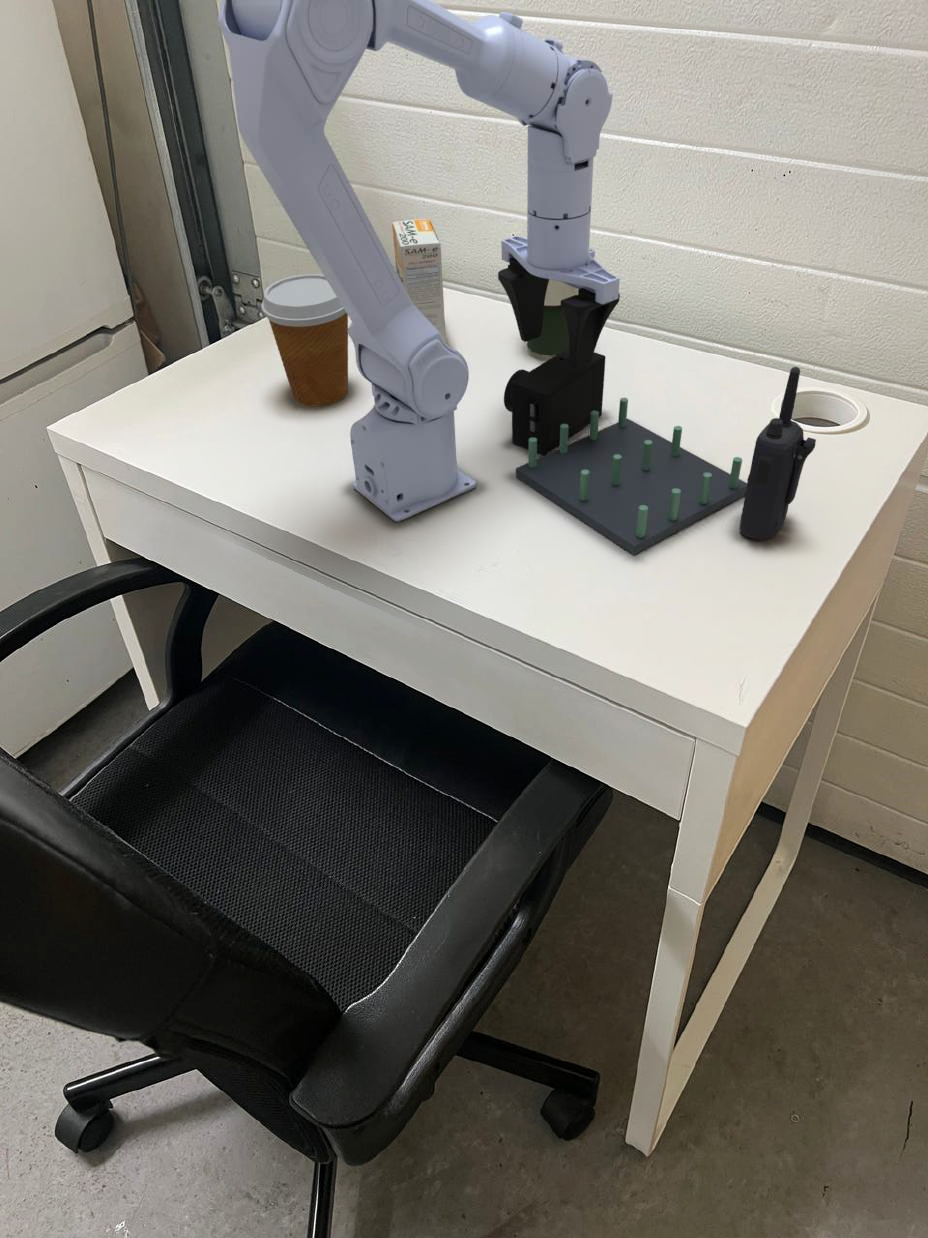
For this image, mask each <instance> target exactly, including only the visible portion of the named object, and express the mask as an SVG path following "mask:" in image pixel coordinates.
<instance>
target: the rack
mask: <svg viewBox="0 0 928 1238" xmlns="http://www.w3.org/2000/svg"><path fill="white" fill-rule="evenodd" d="M628 405H629V398H627V397H621V398H619V407H618V409H619V410H618V420H617V422H616V423H613V424H611V425H609V426H606V427H605V428H604V427H603V428H602V429H600V430H599V419H600V417H599V412H598V411H592V412H591V417H590V424H589V435H586V436H585V437H583V438H579V439H578V440H575V441H574V442H571V443H569V439H568V427H569V426H568V425H567V424H561V426H560V445H559V448H558V449H554V450H552V451H551V452H550V453H548V454H547V455H544V456H543V455H541V456H540V457H538V453H537V439H536V438H530V439H529V450H528V462H527V463H525V464H522V465H520V466H518V467H516V468H515V477H516V478H517V479H518V480H520V481H522V482H523V483H524V484H525V485H528V486H529V487H531V488H532V489H534V490H535V491H536V492H538V493H540V494H541V495H542V496H544V497H546V498H547V499H549V500H550V501H552V502H553V503H555V504H556V505H557V506H559V507H561V508H562V509H564V510H565V511H566V512H568V513H569V514H571V515H573V516H574V517H576V518H577V519H579V520H580V521H582V522H583V523H585V524H586V525H588V526H589V527H591V528H592V529H594V530H595V531H597V532H598V533H600V534H601V535H603V536H604V537H605V538H607V539H609V540H610V541H611V542H613V543H615V544H616V545H618V546H619V547H621V548H622V549H623V550H624V551H626V552H629V553H630V554H631V555H632V556H634V555H637V554H639V553H640V552H642V551H644V550H646V549H648V548H650V547H652V546H654V545H655V544H657V543H659V542H661V541H663V540H665V539H666V538H668V537H670V536H671V535H673V534H675V533H676V534H677V532H679V531H682V530H683V529H685V528H688V526H690V525H692V524H694V523H696V522H698V521H700V520H701V519H704V518H705V517H707V516H709V515H711V514H712V513H715V512H716V511H718V510H720V509H722V508H724V507H725V506H727V505H730V504H731V503H733V502H735V501H737V500H739V499H740V498H743V497H744V494H745V491H746V490H747V486H748V485H747V481H744V480H742V479H740V476H741V475H740V474H741V469H742V463H743V458H742V457H740V456H735V457H734V458H733V459H732V463H731V464H732V465H731V470H730V473H729V472H727V471H725V470H723V469H722V468H720V467H718V466H716V465H714V464H712V463H711V462H709V461H707V460H705V459H703V458H702V457H699V456H698V455H696V454H694V453H692V452H691V451H688V450H686V448H683V447H682V446H681V443H682V442H681V441H682V434H683V427H682V426H681V425H674V427H673V430H672V439H671V441H670V440H668V439H667V438H664V437H662V436H661V435H659V434H657V433H655V432H653V431H652V430H650V429H648V428H645V427H644V426H642V425H641V424H638V422H635V421H633V420H631V419H630V418H627V417H628V407H629V406H628Z"/></svg>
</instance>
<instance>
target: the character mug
mask: <svg viewBox="0 0 928 1238" xmlns="http://www.w3.org/2000/svg"><path fill="white" fill-rule="evenodd" d="M524 238H526V239H527V236H525V237H524ZM574 295H578V289H576V288H574V287H571V286H569V285H567V284H565V283H562V282H560V281H556V280H551V279H549V283H548V286H547V291H546V296H545V302H544V315H543V327H542V332H541V336H540V337H537V338H535V339H532V340H530V341H527V342H526V347H527V348H528V350H529V351H530V352H531V353H533V354H536V355H537V356H552V357H553V356H556V355H557V354H559V353H560V352H562V351H564V350H565V349H567V348H568V347H569V332H568V326H567V321H566V318H565V314H564V311H563V309H562V307H561V300H563V299H566V298H569V297H571V296H574Z"/></svg>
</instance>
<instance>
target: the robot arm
mask: <svg viewBox="0 0 928 1238" xmlns="http://www.w3.org/2000/svg"><path fill="white" fill-rule="evenodd" d="M218 12H219V13H218V17H217V23H218V26H219V28H220V31H221V33H222V36H223V38H224V40H225V42H226V45H227V47H228V51H229V59H230V67H231V78H232V85H233V95H234V101H235V102H234V103H235V111H236V118H237V127H238V130H239V133H240V136H241V138H242V141H243V143H244V145H245V146H246V148H247V149H248V151H249V153H250V154H251V156H252V157H253V159H254V161H255V163H256V165H257V166H258V168H259V169H260V171H261V173H262V175H263V176H264V177H265V180H266V181H267V183H268V184H269V186H270V188H271V190H272V191H273V193H274V195H275V196H276V198H277V200H278V201H279V203H280V204H281V206H282V209H284V211H285V213H286V214H287V216H288V218H289V220H290V222H291V223H292V224H293V226H294V228H295V229H296V231H297V233H298V234H299V236H300V238H301V240H302V241H303V243H304V245H305V246H306V248H307V249H308V251H309V253H310V254H311V256H312V258H313V260H314V261H315V263H316V264H317V266H318V268H319V269H320V272H321V274H322V275H324V276H325V278H326V279H327V281H328V283H329V284H330V286H331V288H332V289H333V291H334V293H335V294H336V296H337V298H338V299H339V301H340V303H341V304H342V306H343V308H344V309H345V311H346V313H347V314H348V319H349V320H350V321H351V322H350V324H349V325H348V330H347V332H348V337H349V338H350V339H351V341H352V344H353V346H354V352H355V353H354V354H355V363H356V367H357V369H358V372H359V373H360V375H361V376H362V378H364V379H365V380H366V381H367V382H369V383H370V384H371V393H372V396H373V402H374V405H373V407H372V408H371V409H370V410H369V412H368V413H366V414H365V415H364V416H363V417H361V418H360V419H358V420H356V421H355V422H354V423H352V425H351V427H350V433H349V434H350V435H349V438H350V446H351V454H352V461H353V468H354V475H355V481H354V482H353V483H352V486H353V488H354V489H355V490H356V491H357V492H359V494H361V495H362V496H363V497H365V498H366V499H367V500H368V501H370V503H372V504H373V505H374V506H376V507H377V508H378V509H379V510H380V511H382V512H383V513H384V514H385V515H386V516H388V517H389V518H390V519H391V520H392V521H394V522H401V521H403V520H406V519H408V518H410V517H413V516H414V515H417V514H419V513H421V512H424V511H425V510H428V509H430V508H433V507H435V506H437V505H439V504H441V503H444V502H446V501H448V500H450V499H453V498H454V497H458V496H460V495H461V494H463V493H466V492H468V491H470V490H473V489H474V488H476V486H477V482H476V480H474V479H473V478H472V477H470V476H469V475H467V474H466V473H465V472H463V471H462V470H461V469H459V468H458V462H457V445H456V444H457V443H456V423H455V411H456V410H458V408H457V407H458V405H459V403H460V402H461V400H462V399H463V397H464V396H465V393H466V391H467V388H468V384H469V379H470V378H469V377H470V376H469V375H470V373H469V366H468V362H467V360H466V358H465V357H464V356H463V355H462V353H461V352H460V351H458V350H457V349H455V348H453V347H451V346H449V344H448V343H447V342H446V343H445V342H444V340H443V338H442V336H441V334H440V332H439V331H438V330H437V329H436V328H435V327H434V326H433V325H432V323H431V322H430V321H429V320H428V319H427V318H426V317H425V316H424V315H423V314H422V313H421V312H420V311H419V310H418V309H417V308H416V307H415V306H414V304H413V303H412V301H411V299H410V297H409V295H408V293H407V291H406V289H405V287H404V286H403V284H402V282H401V280H400V278H399V276H398V274H397V272H396V267H395V266H394V265H393V263H392V261H391V259H390V257H389V255H388V253H387V251H386V249H385V247H384V245H383V244H382V242H381V240H380V238H379V236H378V234H377V232H376V230H375V228H374V226H373V223H371V221H370V219H369V217H368V215H367V212H366V211H365V209H364V207H363V205H362V203H361V201H360V199H359V198H358V196H357V194H356V192H355V190H354V188H353V186H352V185H351V182H350V180H349V178H348V177H347V175H346V173H345V171H344V169H343V167H342V165H341V162H340V161H339V160H338V157H337V155H336V153H335V152H334V149H333V147H332V146H331V144H330V142H329V140H328V138H327V137H326V134H325V126H326V123H327V120H328V117H329V115H330V113H331V111H332V110H333V108H334V106H335V105H336V104H337V103H336V102H337V101H338V99H339V97H340V96H341V94H342V92H343V90H344V89H345V87H346V86H347V84H348V82H349V80H350V78H351V76H352V75H353V73H354V71H355V70H356V68H357V66H358V64H359V62H360V61H361V59H362V57H363V56H364V54H365V52H366V50H369V51H372V52H373V51H374V52H377V51H380V50H381V49H383V47H385V45H386V44H387V43H389V44H392V45H394V46H397V47H399V48H401V49H404V50H407V51H408V52H411V53H414V54H415V55H419V56H421V57H424V58H426V59H428V60H431V61H433V62H436V63H438V64H441V65H444V66H446V67H448V68H450V69H452V70H454V72H455V76H456V82H457V84H458V86H459V89H460V90H461V92H462V93H463V94H464V95H466V96H467V97H469V98H471V99H473V100H476V101H478V102H481V103H483V104H485V105H487V106H489V107H492V108H494V109H495V110H498V111H500V112H503V113H505V114H507V115H509V116H511V117H514V118H516V120H517V121H518V122H519V124H520V125H522V126H523V127H526V126H527V194H526V195H527V201H526V202H527V209H526V210H527V211H526V217H527V218H526V223H527V224H526V237H527V239H526V238H525V237H522V236H519V235H514V236H511V237H508V238H506V239H502V240H501V243H500V244H501V261H503V262H505V263H508V264H507V267H506V268H503V269H500V270H499V271H498V272H497V279H498V281H499V283H500V284H501V286H502V287H503V289H504V291H505V293H506V296H507V298H508V300H509V302H510V305H511V307H512V311H513V314H514V317H515V321H516V325H517V329H518V333H519V336H520V340H521V341H522V342H524V343H527V341H530V340H532V339H535V338H537V337H540V336H541V332H542V327H543V315H544V302H545V296H546V291H547V286H548V283H549V279H551V280H556V281H560V282H562V283H565V284H567V285H569V286H571V287H574V288H576V289H578V295H574V296H571V297H569V298H566V299H563V300H561V307H562V309H563V311H564V314H565V318H566V321H567V326H568V332H569V355H570V362H571V366H572V367H574V368H579V367H581V366H584V365H586V364H589V363H591V360H592V357H593V354H594V352H595V350H596V347H597V344H598V341H599V338H600V335H601V333H602V331H603V328H604V327H605V324H606V322H607V321H608V319H609V317H610V316H611V314H612V312H613V311H614V309H615V308H616V306H617V305H618V304H619V303H620V299H621V298H620V297H621V293H620V280H621V279H620V277H618V276H617V275H614V274H612V273H611V272H610V271H608V269H606V268H604V266H603V265H601V263H599V261H597V260H596V259H595V257H596V249H594V248H593V247H592V248H591V247H590V241H591V240H590V239H591V219H592V218H591V217H592V216H591V214H592V200H593V199H592V198H593V197H592V196H593V178H594V177H593V176H594V175H593V174H594V158H595V157H596V155H597V152H598V151H597V150H599V149H600V136H601V132H602V129H603V127H604V125H605V123H606V121H607V119H608V117H609V114H610V111H611V109H612V103H613V98H614V97H613V95H614V94H612V93H610V92H609V85H608V82H607V80H606V77H605V75H604V74H603V73H602V72H603V70H602V68H600V66H599V65H598V64H597V63H596V62H594V61H592V60H589V59H585V58H584V59H583V58H579V57H575V56H571V55H566V54H565V53H564V51H563V48H564V44H563V43H562V42H560V41H559V40H557V39H556V38H555V39H554V38H551V37H550V38H549V37H547V38H545V39H544V40H542V39H541V38H539V37H537V36H535V35H533V34H532V33H530V32H527V31H526V30H524V29H522V26H523V22H524V21H523V20H524V19H523V18H521V17H519V16H518V15H516V14H515V13H512V12H505V11H501V12H499V14H498V15H495V14H488V15H484V16H482V17H480V18H478V19H476V20H475V21H473V22H472V23H470V22H468V21H466V20H465V19H463V18H462V17H460V16H458V15H456V14H455V13H453V12H452V11H449V10H448V9H446V8H444V6H442V5H439V4H437V2H434V1H432V0H221V4H220V7H219V11H218Z"/></svg>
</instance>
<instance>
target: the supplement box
mask: <svg viewBox="0 0 928 1238" xmlns="http://www.w3.org/2000/svg"><path fill="white" fill-rule="evenodd" d="M391 226H392V227H391V229H392V238H393V247H394V249H393V251H394V259H395V260H394V261H395V270H396V272H397V274H398V276H399V278H400V280H401V282H402V284H403V286H404V287H405V289H406V291H407V293H408V295H409V297H410V299H411V301H412V303H413V304H414V306H415V307H416V308H417V309H418V310H419V311H420V312H421V313H422V314H423V315H424V316H425V317H426V318H427V319H428V320H429V321H430V322H431V323H432V325H433V326H434V327H435V328H436V329H437V330H438V331H439V332H440V334H441V336H442V338H443V340H444V342H445V343H446V344H447V335H446V321H445V319H446V318H445V317H446V316H445V301H444V299H445V298H444V282H443V280H444V279H443V265H442V264H443V263H442V249H441V248H442V247H441V240H440V239H439V237H438V234H437V231H436V230H435V228H434V225H433V223H432V221H431V219H430V218H417V219H406V220H398V221H392V222H391Z"/></svg>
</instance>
